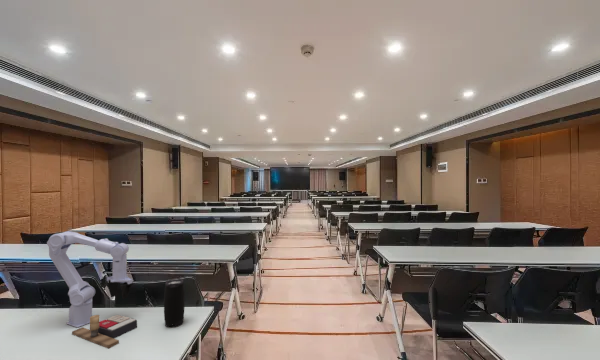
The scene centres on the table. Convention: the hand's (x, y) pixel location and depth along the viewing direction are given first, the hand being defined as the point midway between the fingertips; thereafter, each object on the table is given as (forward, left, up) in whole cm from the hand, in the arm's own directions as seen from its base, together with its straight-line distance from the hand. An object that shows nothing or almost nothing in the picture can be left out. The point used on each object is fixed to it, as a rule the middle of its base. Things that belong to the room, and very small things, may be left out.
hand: (119, 297), depth 133 cm
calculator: (+8, -7, -11) cm, 16 cm away
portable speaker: (+28, +8, -11) cm, 31 cm away
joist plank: (+8, -15, -10) cm, 20 cm away
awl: (+8, -15, -9) cm, 20 cm away
